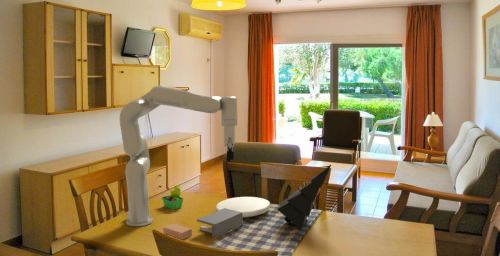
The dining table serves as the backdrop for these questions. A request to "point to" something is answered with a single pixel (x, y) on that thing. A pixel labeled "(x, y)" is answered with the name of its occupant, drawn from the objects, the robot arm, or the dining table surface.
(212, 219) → the grey block with tab
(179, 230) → the slab
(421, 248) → the dining table surface
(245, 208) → the plate
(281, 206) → the decorative tree
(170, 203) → the fruit basket
